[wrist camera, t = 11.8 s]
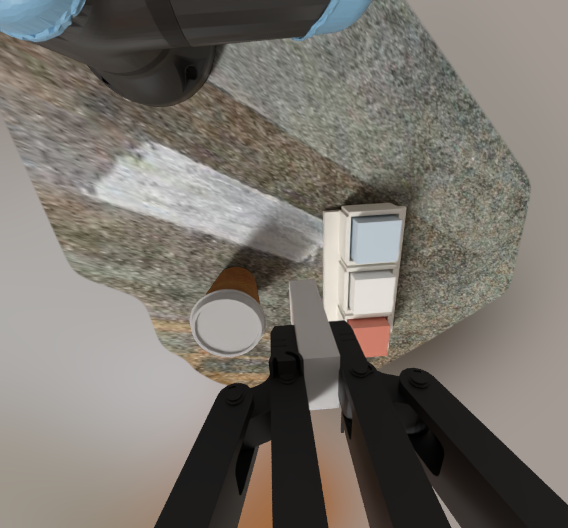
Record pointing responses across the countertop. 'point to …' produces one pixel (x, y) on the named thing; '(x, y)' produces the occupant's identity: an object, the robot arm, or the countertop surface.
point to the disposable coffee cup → (229, 315)
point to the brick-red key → (371, 335)
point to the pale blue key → (375, 238)
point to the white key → (371, 291)
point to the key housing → (341, 263)
